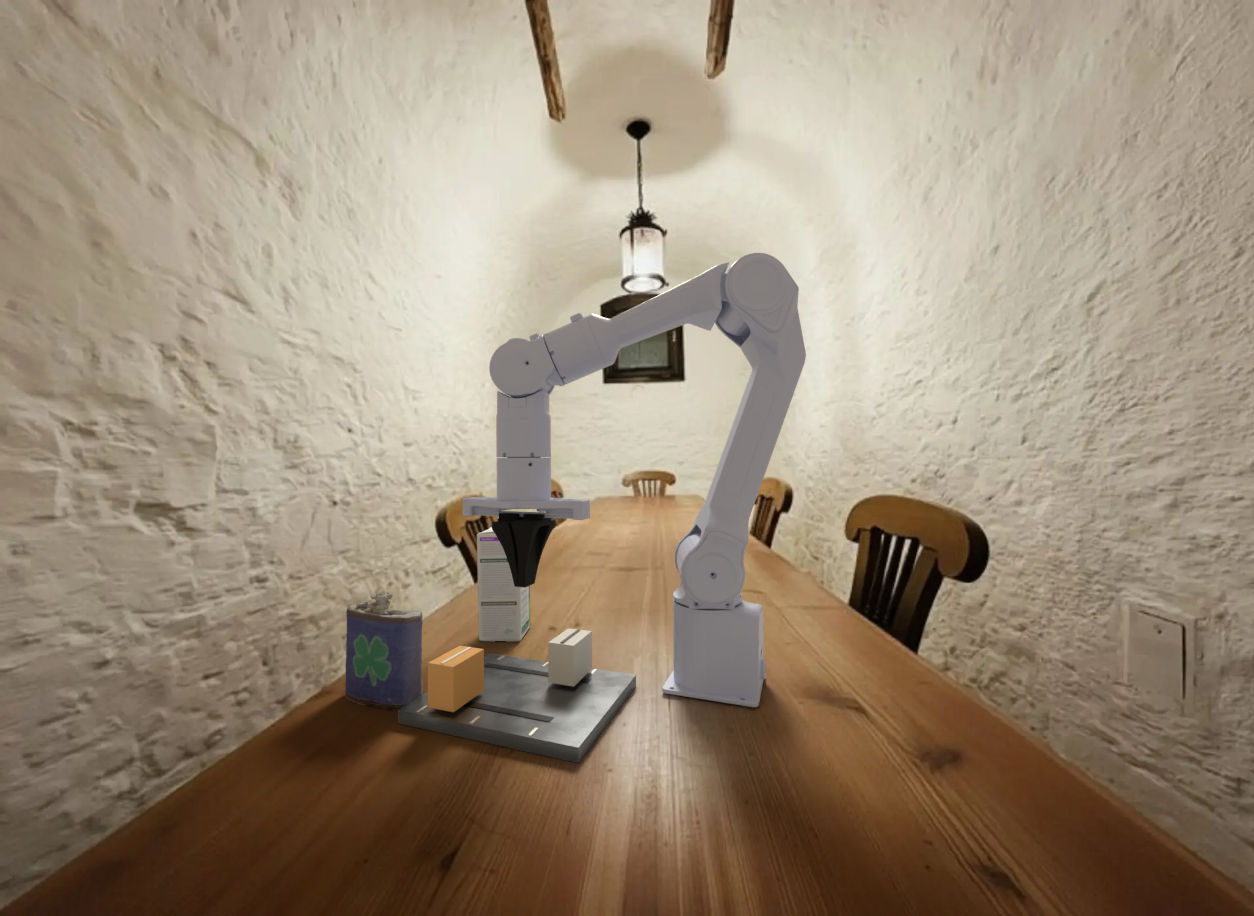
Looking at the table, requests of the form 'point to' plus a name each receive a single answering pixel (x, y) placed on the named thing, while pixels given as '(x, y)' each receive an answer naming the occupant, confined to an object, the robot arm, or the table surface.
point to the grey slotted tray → (529, 709)
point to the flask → (383, 654)
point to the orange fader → (455, 678)
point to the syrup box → (499, 594)
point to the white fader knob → (569, 657)
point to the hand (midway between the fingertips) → (524, 585)
